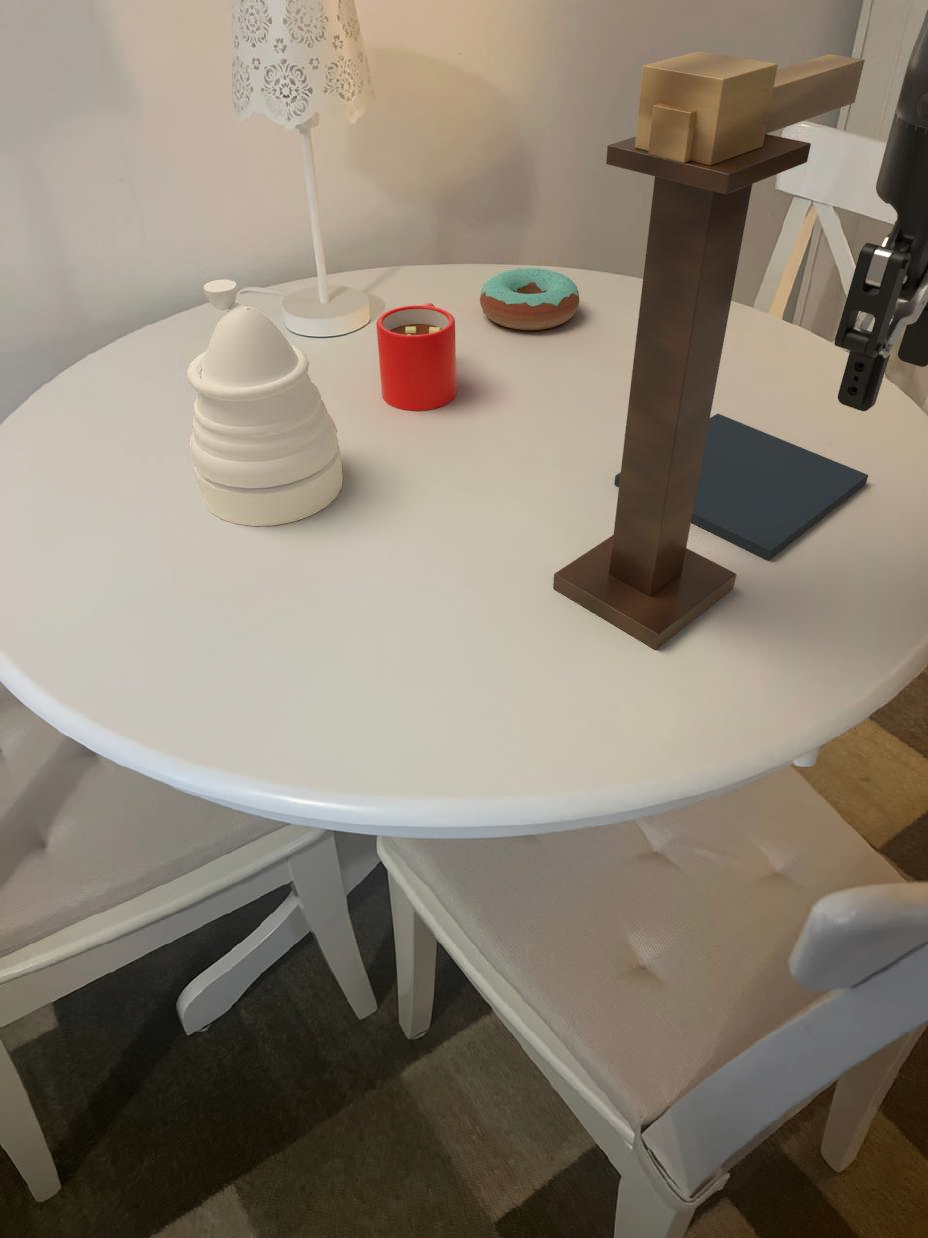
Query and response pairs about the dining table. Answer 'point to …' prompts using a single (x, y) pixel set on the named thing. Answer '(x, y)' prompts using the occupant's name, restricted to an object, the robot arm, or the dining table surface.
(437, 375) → the mug
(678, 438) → the brown pedestal stand
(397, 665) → the dining table surface
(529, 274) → the donut
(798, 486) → the mat
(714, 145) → the light wood mallet shape
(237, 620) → the dining table surface
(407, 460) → the dining table surface
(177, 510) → the dining table surface
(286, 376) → the honey pot
